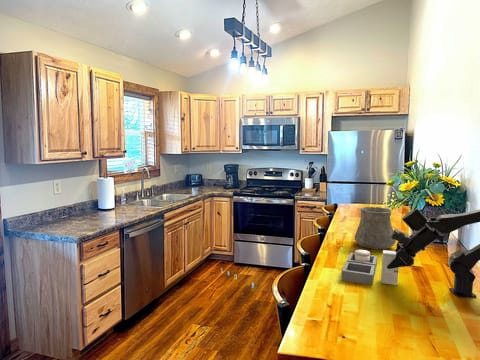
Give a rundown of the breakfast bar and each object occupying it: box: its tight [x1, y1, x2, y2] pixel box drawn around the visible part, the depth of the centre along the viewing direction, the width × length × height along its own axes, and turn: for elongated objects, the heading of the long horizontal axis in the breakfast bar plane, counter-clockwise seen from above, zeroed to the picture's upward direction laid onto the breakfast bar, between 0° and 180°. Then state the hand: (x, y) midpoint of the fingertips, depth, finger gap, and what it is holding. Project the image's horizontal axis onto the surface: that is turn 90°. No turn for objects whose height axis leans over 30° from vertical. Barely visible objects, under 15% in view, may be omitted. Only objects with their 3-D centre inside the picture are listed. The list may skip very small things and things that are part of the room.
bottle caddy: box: [341, 249, 378, 286], centre depth 150 cm, size 11×24×7 cm, turn 155°
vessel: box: [354, 206, 397, 250], centre depth 185 cm, size 22×22×20 cm
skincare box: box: [380, 249, 400, 286], centre depth 139 cm, size 6×4×12 cm
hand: (387, 264), depth 139 cm, fingers open, 9 cm apart
